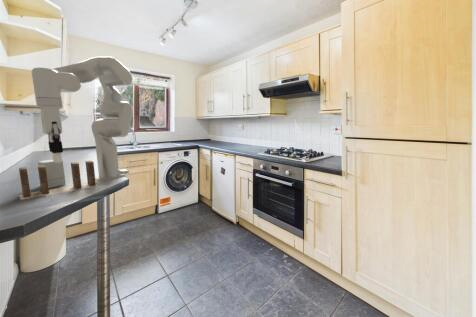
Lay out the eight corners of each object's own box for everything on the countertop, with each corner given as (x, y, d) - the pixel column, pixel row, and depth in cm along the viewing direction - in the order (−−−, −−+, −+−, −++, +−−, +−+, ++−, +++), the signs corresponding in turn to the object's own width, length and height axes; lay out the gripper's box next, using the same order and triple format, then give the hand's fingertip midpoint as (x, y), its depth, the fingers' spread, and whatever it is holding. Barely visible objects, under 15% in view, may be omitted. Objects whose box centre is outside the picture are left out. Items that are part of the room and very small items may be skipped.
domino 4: (92, 183, 106) (90, 160, 104) (95, 185, 102) (93, 161, 101) (87, 184, 104) (85, 161, 103) (90, 186, 101) (88, 162, 99)
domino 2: (59, 160, 89) (55, 133, 87) (62, 162, 86) (58, 133, 84) (53, 161, 88) (49, 133, 86) (55, 162, 84) (51, 133, 82)
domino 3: (78, 185, 102) (76, 162, 100) (81, 188, 98) (78, 163, 97) (73, 186, 100) (70, 162, 99) (76, 188, 97) (73, 164, 95)
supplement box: (60, 184, 108) (57, 158, 106) (66, 186, 104) (63, 160, 102) (40, 188, 102) (37, 160, 100) (46, 190, 98) (42, 162, 96)
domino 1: (47, 191, 94) (44, 165, 92) (49, 193, 90) (45, 166, 89) (41, 192, 93) (37, 166, 91) (42, 194, 89) (38, 167, 87)
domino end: (29, 193, 90) (25, 167, 88) (30, 196, 86) (26, 168, 85) (23, 195, 89) (18, 167, 87) (23, 197, 85) (19, 169, 83)
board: (94, 184, 108) (94, 182, 108) (99, 188, 102) (99, 185, 102) (19, 197, 89) (19, 194, 89) (20, 202, 83) (20, 199, 83)
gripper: (33, 104, 86) (40, 151, 89) (38, 101, 75) (46, 155, 77) (58, 105, 92) (64, 149, 95) (66, 102, 80) (72, 153, 83)
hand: (56, 151), depth 86 cm, fingers closed on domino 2, 5 cm apart
